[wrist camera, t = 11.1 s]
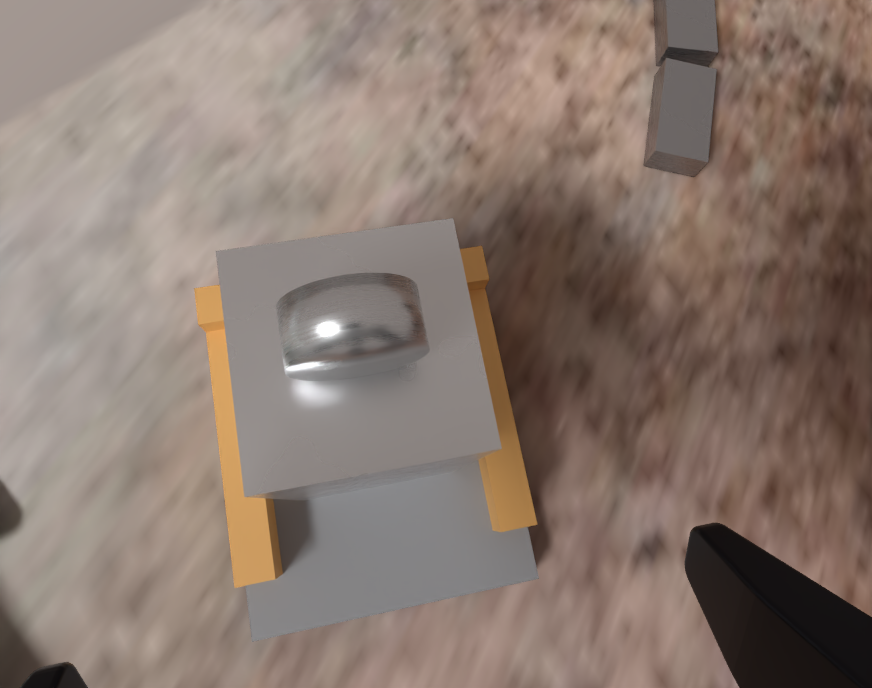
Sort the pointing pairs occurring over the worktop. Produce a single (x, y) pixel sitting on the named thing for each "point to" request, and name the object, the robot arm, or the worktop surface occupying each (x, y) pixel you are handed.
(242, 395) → the steel link block
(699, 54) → the grey segmented block chain
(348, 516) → the keeper bracket
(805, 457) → the worktop surface
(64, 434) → the worktop surface
